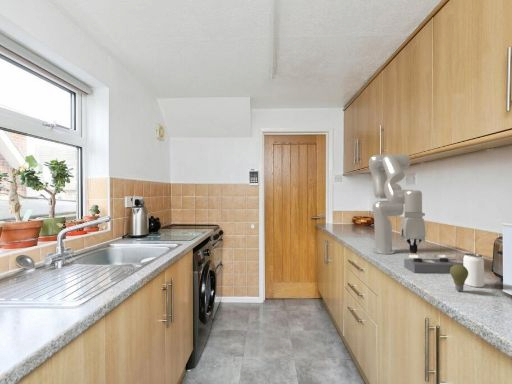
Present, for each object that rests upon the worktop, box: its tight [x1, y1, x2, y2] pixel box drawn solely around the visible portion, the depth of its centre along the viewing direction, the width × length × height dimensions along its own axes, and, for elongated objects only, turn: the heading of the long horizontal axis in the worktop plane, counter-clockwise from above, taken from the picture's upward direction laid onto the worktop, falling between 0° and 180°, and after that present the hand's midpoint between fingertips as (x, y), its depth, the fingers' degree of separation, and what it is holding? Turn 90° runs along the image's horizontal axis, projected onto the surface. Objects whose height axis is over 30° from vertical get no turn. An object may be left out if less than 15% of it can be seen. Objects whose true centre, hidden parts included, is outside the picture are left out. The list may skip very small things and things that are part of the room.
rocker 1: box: [408, 254, 428, 259], centre depth 132 cm, size 9×4×1 cm, turn 176°
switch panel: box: [403, 258, 463, 274], centre depth 131 cm, size 10×24×6 cm, turn 86°
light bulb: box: [449, 264, 468, 292], centre depth 104 cm, size 6×6×10 cm
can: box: [462, 252, 485, 289], centre depth 110 cm, size 6×6×12 cm
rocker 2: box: [433, 254, 455, 259], centre depth 131 cm, size 9×4×1 cm, turn 176°
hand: (413, 252), depth 136 cm, fingers closed
